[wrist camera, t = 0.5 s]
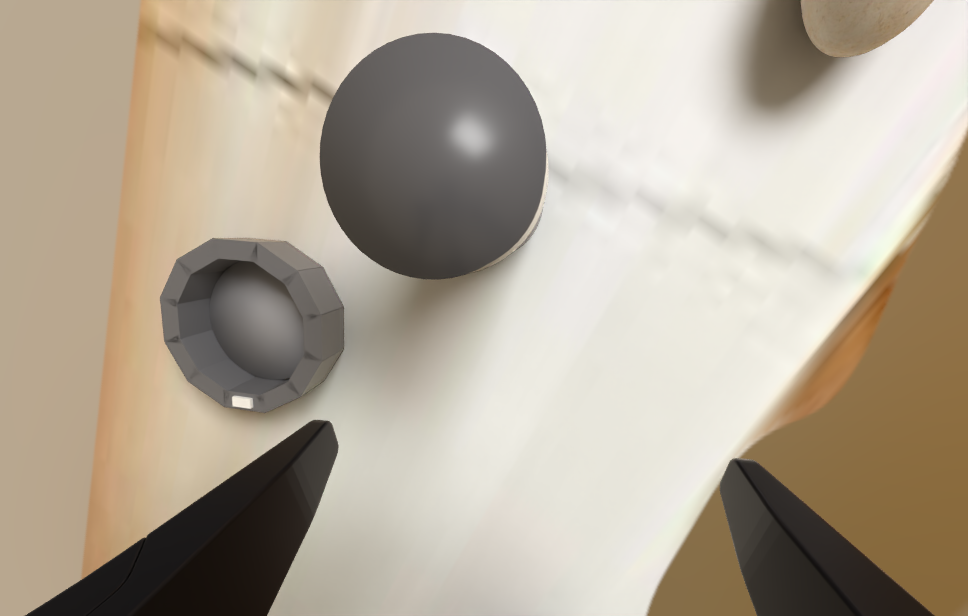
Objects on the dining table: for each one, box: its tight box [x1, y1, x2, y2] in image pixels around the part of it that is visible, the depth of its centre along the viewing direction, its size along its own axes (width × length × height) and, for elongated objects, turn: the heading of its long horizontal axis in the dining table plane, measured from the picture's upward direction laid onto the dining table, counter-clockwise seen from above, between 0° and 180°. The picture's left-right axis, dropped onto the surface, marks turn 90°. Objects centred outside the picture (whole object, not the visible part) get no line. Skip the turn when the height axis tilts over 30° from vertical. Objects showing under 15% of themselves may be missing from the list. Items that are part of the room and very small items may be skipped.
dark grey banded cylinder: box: [320, 33, 548, 279], centre depth 15 cm, size 5×5×13 cm
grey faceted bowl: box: [160, 238, 344, 413], centre depth 23 cm, size 10×10×3 cm
